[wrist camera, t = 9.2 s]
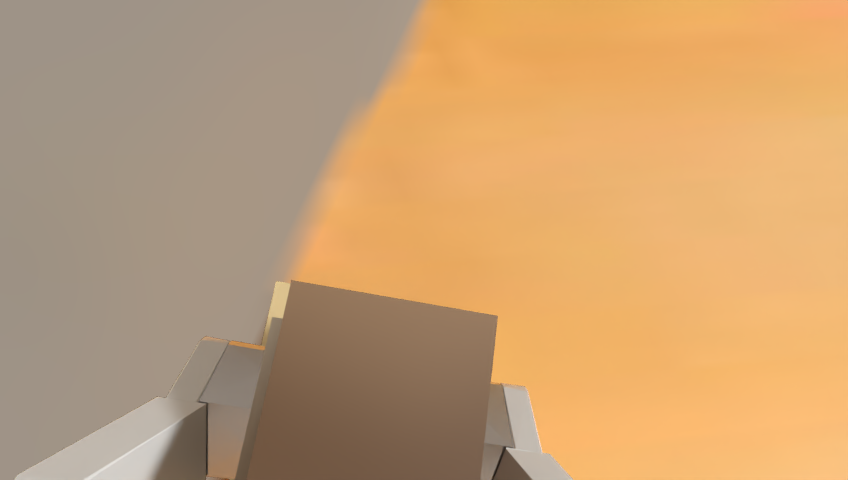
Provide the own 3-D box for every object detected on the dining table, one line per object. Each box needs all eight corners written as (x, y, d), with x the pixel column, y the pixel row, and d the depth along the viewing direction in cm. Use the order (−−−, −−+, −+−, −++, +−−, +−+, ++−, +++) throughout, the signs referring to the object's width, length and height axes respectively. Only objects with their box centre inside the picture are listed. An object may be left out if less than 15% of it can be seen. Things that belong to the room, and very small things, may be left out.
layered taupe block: (392, 545, 14) (453, 733, 6) (268, 529, 14) (173, 707, 6) (420, 352, 15) (497, 316, 8) (308, 334, 15) (274, 277, 7)
